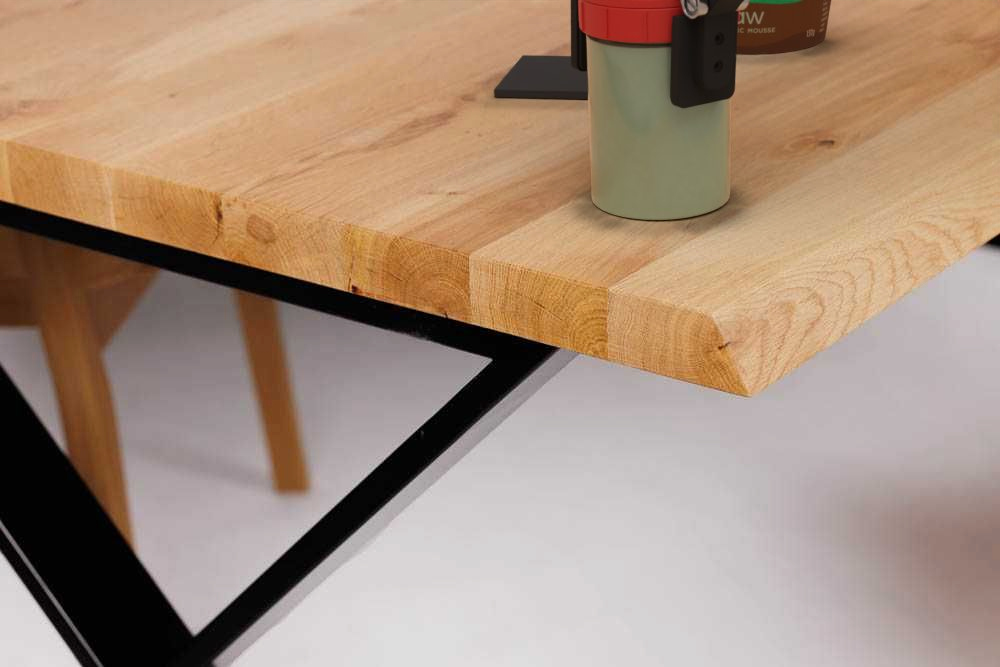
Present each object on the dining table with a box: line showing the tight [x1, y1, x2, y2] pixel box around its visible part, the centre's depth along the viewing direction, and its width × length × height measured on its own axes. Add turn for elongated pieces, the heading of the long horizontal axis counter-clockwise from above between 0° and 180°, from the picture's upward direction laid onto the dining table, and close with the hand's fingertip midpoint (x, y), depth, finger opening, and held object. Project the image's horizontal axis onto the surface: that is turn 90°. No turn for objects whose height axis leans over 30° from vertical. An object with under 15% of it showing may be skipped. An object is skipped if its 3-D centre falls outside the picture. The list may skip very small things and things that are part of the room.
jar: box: [586, 34, 732, 221], centre depth 67 cm, size 7×7×10 cm
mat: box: [493, 54, 588, 100], centre depth 88 cm, size 8×8×1 cm
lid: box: [578, 0, 740, 43], centre depth 65 cm, size 7×7×2 cm
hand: (649, 80), depth 67 cm, fingers closed on lid, 7 cm apart
